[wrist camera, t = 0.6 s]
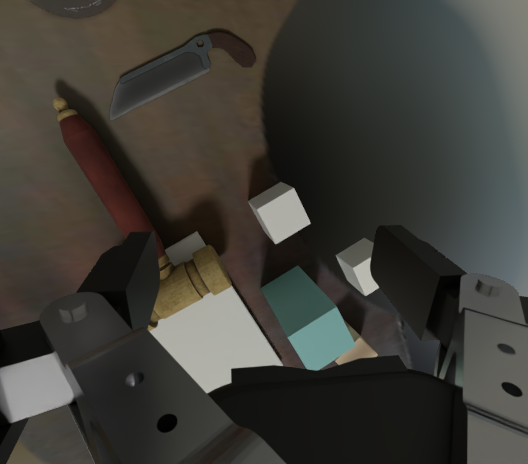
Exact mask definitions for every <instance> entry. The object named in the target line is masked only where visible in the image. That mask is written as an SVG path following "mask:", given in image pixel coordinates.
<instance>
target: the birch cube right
mask: <svg viewBox="0 0 528 464" xmlns="http://www.w3.org/2000/svg"><path fill="white" fill-rule="evenodd" d="M343 320H344V319H343ZM344 322H345V324H346V326H347V328H348V330H349V332H350V334H351V336H352V338H353V340H354V342H355V344H356V346H355V347H353V348H352V349H350V350H349V351H347V352H346V353H344V354H343V355H341V356H340V357H338V358H336V359H335V360H334V361H335V362H336V363H337V364H339V365H340V364H343V363H347V362H350V361H353V360H356V359H359V358H370V357H376V356H377V355H378V354H377V353H376V352H375V351H374V350H373V349H372V348H371V347H370V346H369V345H368V343H367V342H366V341H365V340H364V339H363V338H362V337H361V336H360V335H359V334H358V333H357V332H356V331H355V330H354V329H353V328H352V327H351V326H350V325H349V324H348V323H347V322H346V321H345V320H344Z"/></svg>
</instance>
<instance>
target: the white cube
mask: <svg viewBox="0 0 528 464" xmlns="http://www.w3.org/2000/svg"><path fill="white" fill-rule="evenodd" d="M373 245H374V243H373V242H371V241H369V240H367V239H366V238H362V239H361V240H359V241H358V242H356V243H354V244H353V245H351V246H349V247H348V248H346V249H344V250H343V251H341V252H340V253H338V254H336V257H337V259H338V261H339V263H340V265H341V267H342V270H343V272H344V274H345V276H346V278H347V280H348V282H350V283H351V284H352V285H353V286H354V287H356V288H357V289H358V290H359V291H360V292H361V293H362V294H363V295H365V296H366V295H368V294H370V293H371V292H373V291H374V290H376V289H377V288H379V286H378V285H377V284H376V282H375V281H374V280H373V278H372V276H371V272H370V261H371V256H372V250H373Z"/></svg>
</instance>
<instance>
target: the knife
mask: <svg viewBox="0 0 528 464" xmlns="http://www.w3.org/2000/svg"><path fill="white" fill-rule="evenodd" d="M198 40H201V41H203V43H204V46H203V47H202V48H200V47H198V46H197V44H196V42H197V41H198ZM211 47H213V48H222V49H224V50H225V51H227V52H228V53H229V54H230V55H231V57H232V58H233V59H234V60H235V61H236V62H237V63H239V64H240V65H241V66H242V67H252V66H253V64H254V63H255V61H256V57H255V55H254V52H253V50H252V49H251V48H250V47H249V46H248V45H246V44H245V43H244V42H242V41H241V40H239V39H238V38H236V37H235V36H233V35H231V34H229V33H227V32H221V31H213V32H210V33H207V35H201V36H198V37H195V38H194V39H193V40H191V41H190V42H189V43H188V44H186V45H185V46H184V47H182V48H180V49H178V50H176V51H174V52H172V53H170V54H168V55H166V56H164V57H162V58H160V59H157V60H155V61H153V62H151V63H149V64H147V65H145V66H143V67H141V68H139V69H137V70H135V71H133V72H131V73H129V74H127V75H125V76H123V77H122V78H121V79H120V82H119V83H118V85H117V86H116V89H115V91H114V97H113V101H112V104H111V109H110V119H111V120H113V119H115V118H117V117H119V116H121V115H123V114H125V113H127V112H129V111H131V110H133V109H135V108H137V107H139V106H141V105H143V104H145V103H147V102H149V101H151V100H153V99H155V98H157V97H159V96H161V95H163V94H165V93H167V92H169V91H171V90H173V89H175V88H177V87H179V86H181V85H183V84H185V83H187V82H189V81H191V80H193V79H195V78H197V77H199V76H201V75H203V74H205V73H207V72H209V68H210V61H209V59H208V57H207V51H208V50H209V49H210V48H211Z"/></svg>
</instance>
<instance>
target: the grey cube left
mask: <svg viewBox="0 0 528 464" xmlns="http://www.w3.org/2000/svg"><path fill="white" fill-rule="evenodd" d="M248 202H249V204H250V206H251V208H252V210H253V212H254V213H255V215H256V217H257V219H258V221H259V222H260V224H261V226H262V228H263V230H264V232H265V233H266V234H267V235H268V236H269V238H270V239H271V240H272V241H273V242H274V243H275V244H277V243H279V242H281V241H282V240H284V239H286V238H287V237H289V236H291V235H292V234H294V233H296V232H297V231H299V230H301V229H302V228H304V227H305V226H307V225H309V224H310V220H309V218H308V216H307V214H306V212H305V210H304V208H303V206H302V204H301V202H300V200H299V198H298V196H297V193H296V191H295V189H294V188H293V187H291V186H289V185H287V184H285V183H282V182H279V183H278V184H276V185H275V186H273V187H271V188H270V189H268V190H266V191H264V192H263V193H261V194H259V195H258V196H256V197H254V198H252V199H251V200H249V201H248Z"/></svg>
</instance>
